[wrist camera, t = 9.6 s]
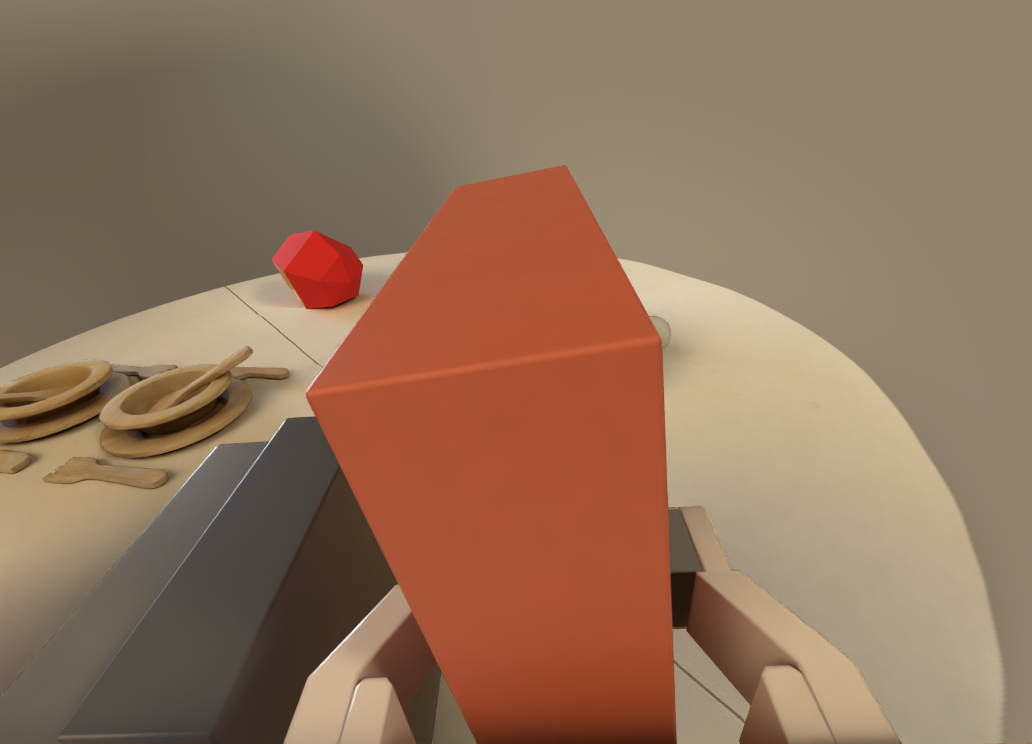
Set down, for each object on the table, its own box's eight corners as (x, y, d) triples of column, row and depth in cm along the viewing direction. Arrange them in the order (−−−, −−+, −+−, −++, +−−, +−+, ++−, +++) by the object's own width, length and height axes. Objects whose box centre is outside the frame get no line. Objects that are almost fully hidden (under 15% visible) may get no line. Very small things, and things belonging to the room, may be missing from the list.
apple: (318, 330, 70) (256, 295, 76) (380, 304, 79) (321, 275, 85) (309, 253, 63) (242, 221, 69) (378, 234, 72) (313, 207, 78)
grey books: (402, 954, 17) (208, 735, 9) (242, 954, 18) (-101, 743, 9) (442, 666, 26) (366, 412, 17) (334, 670, 26) (206, 422, 17)
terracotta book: (682, 902, 11) (664, 335, 4) (556, 906, 11) (299, 392, 4) (614, 548, 20) (566, 164, 12) (543, 556, 20) (454, 187, 13)
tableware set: (295, 373, 56) (278, 328, 53) (158, 494, 40) (122, 438, 37) (98, 366, 62) (72, 325, 59) (-91, 467, 46) (-139, 418, 43)
